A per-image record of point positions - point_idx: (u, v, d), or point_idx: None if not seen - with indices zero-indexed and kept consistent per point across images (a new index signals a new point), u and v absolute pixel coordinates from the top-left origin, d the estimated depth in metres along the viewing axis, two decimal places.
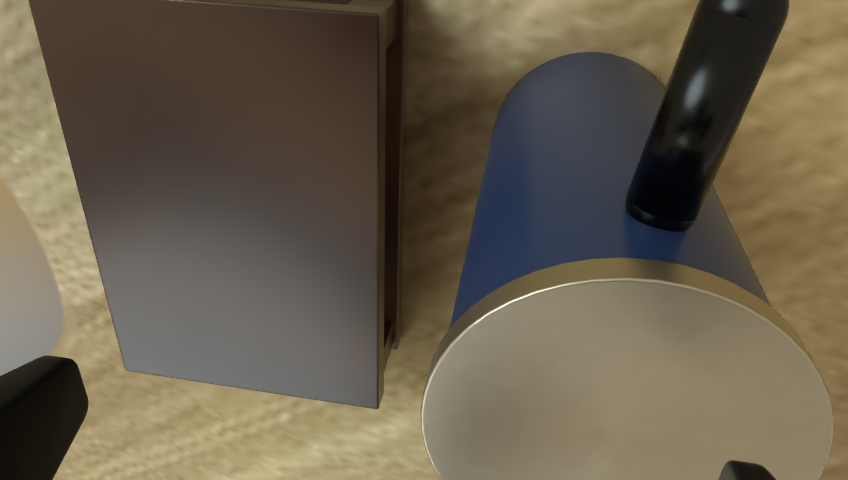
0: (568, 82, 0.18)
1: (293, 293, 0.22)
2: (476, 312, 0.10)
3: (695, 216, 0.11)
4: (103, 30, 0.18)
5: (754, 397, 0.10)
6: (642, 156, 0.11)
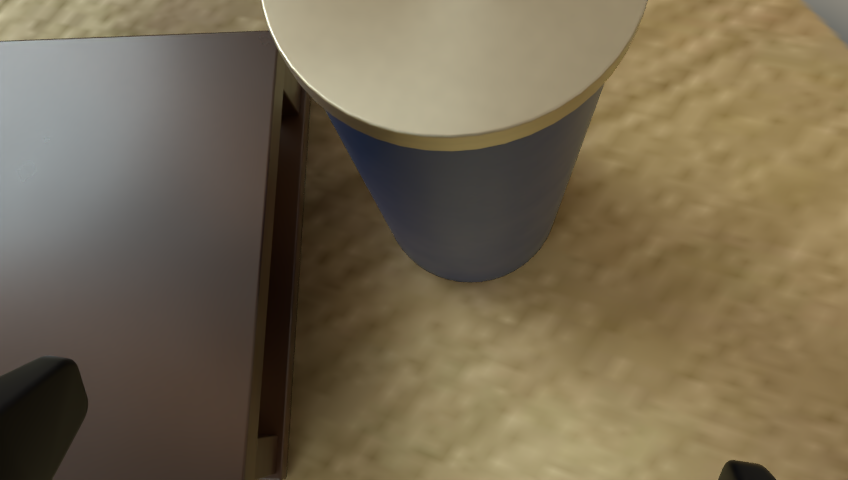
0: None
1: (159, 316, 0.19)
2: None
3: None
4: (42, 65, 0.21)
5: None
6: None
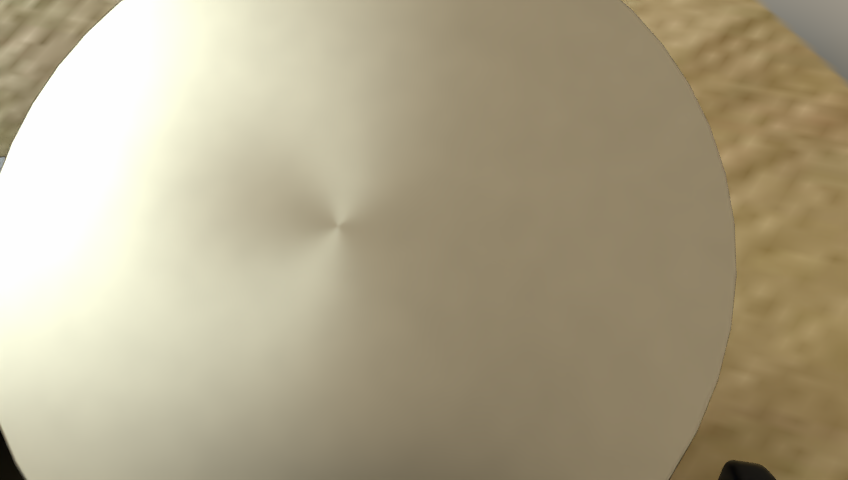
0: None
1: None
2: None
3: None
4: None
5: (550, 69, 0.06)
6: None
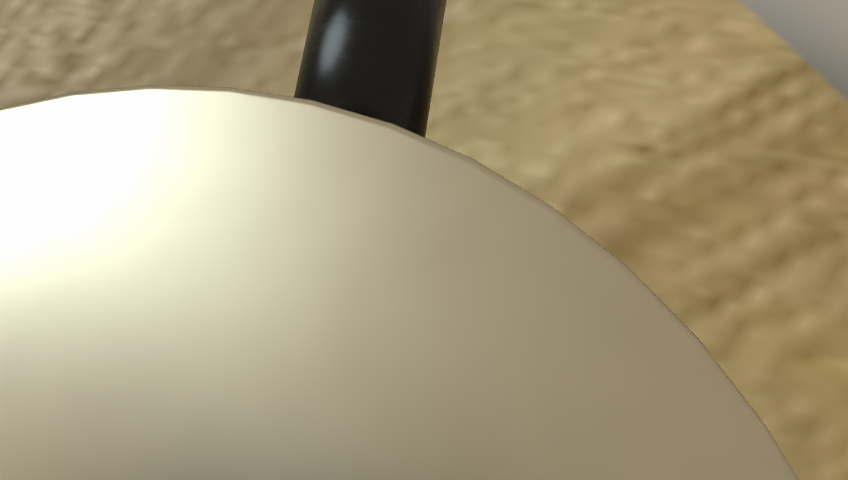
0: None
1: None
2: None
3: None
4: None
5: (521, 476, 0.03)
6: None
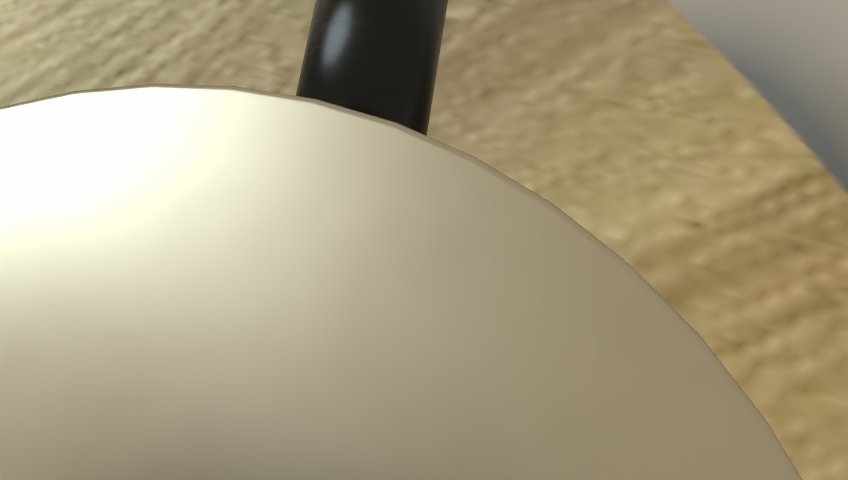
0: None
1: None
2: None
3: None
4: None
5: (523, 476, 0.03)
6: None
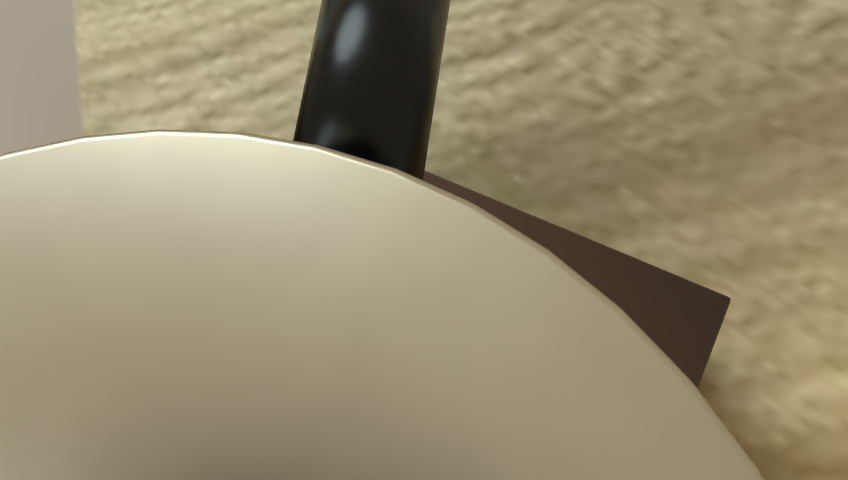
0: None
1: None
2: None
3: None
4: None
5: None
6: None
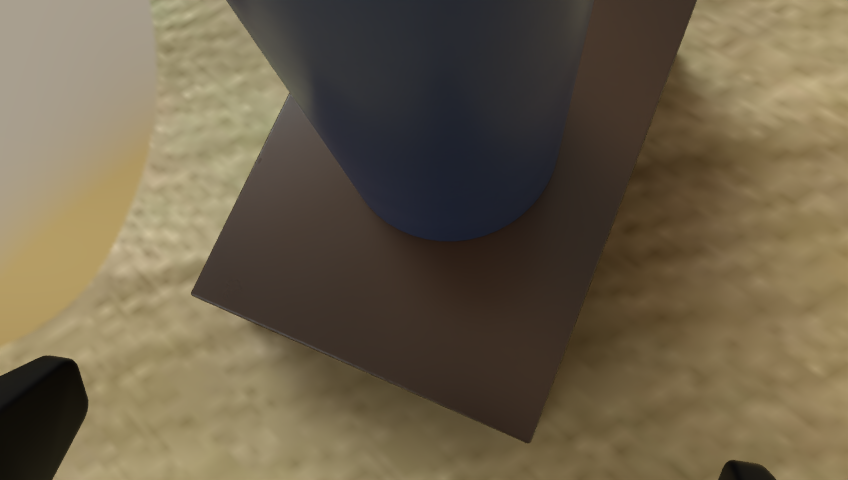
0: None
1: None
2: None
3: None
4: None
5: None
6: None
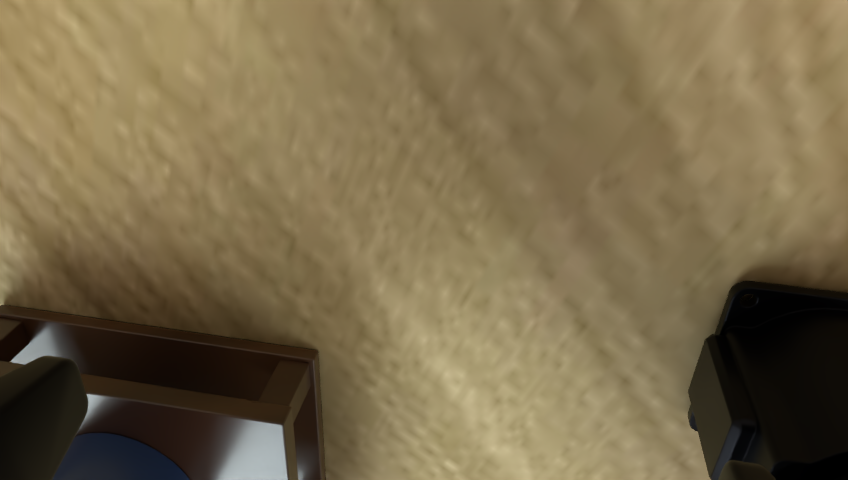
0: None
1: None
2: None
3: None
4: None
5: None
6: None
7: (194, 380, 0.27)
